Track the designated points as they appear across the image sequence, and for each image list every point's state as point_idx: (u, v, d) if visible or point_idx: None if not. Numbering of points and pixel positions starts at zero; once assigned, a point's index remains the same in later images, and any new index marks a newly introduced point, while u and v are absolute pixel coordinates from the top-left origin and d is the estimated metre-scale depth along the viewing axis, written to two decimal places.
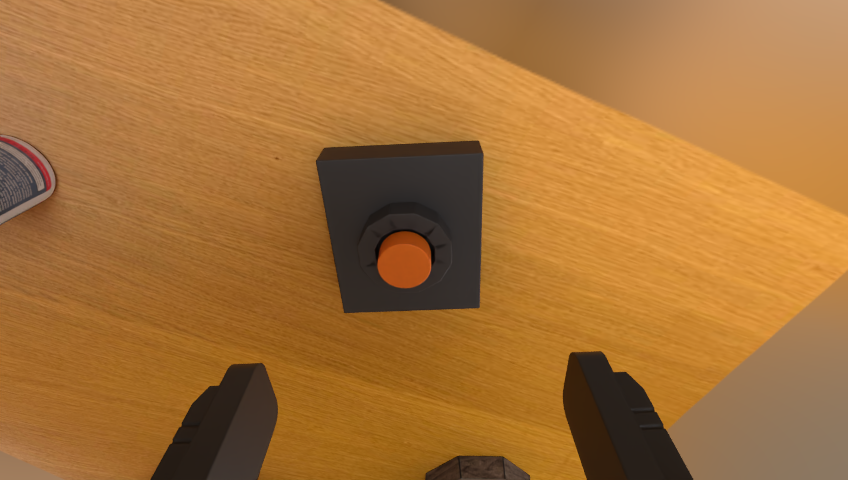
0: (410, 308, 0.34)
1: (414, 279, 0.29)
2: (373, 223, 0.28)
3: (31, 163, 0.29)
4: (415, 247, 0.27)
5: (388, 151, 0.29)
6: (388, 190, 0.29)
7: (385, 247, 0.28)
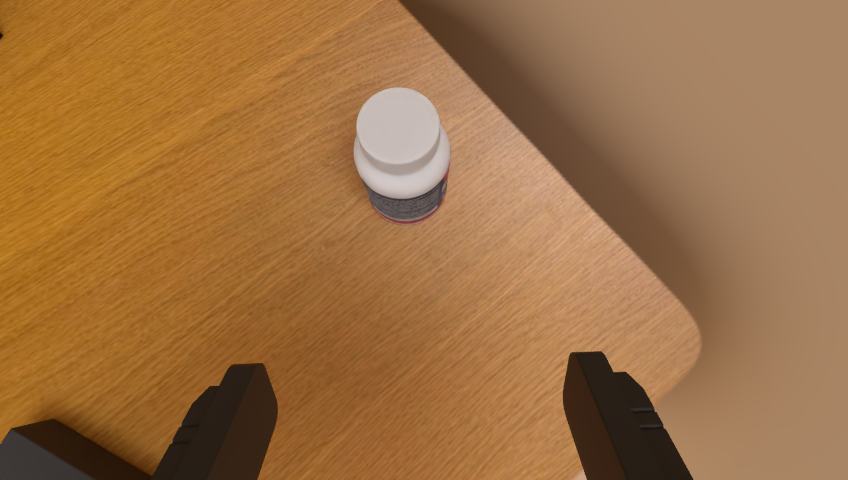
0: None
1: None
2: None
3: (399, 220, 0.26)
4: None
5: None
6: None
7: None
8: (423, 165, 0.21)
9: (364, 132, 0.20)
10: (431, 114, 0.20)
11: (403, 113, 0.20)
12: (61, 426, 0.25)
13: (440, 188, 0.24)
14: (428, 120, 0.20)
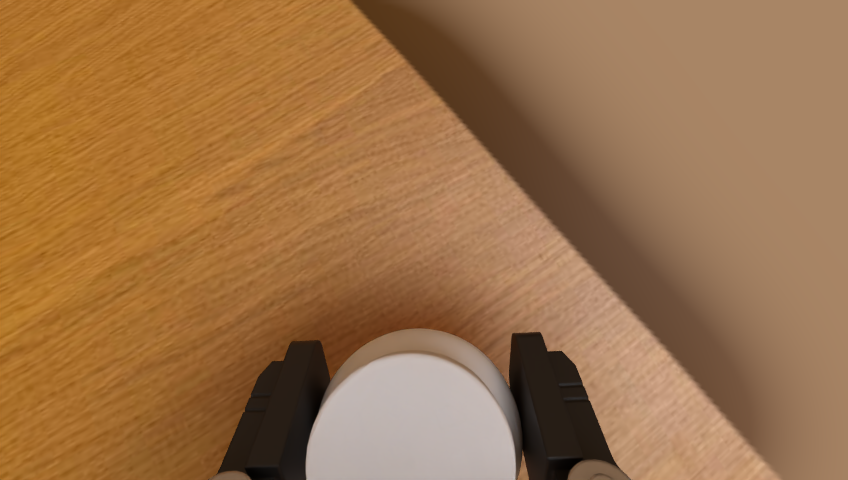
0: None
1: None
2: None
3: None
4: None
5: None
6: None
7: None
8: None
9: None
10: (494, 435, 0.08)
11: (424, 432, 0.08)
12: None
13: None
14: (487, 453, 0.08)
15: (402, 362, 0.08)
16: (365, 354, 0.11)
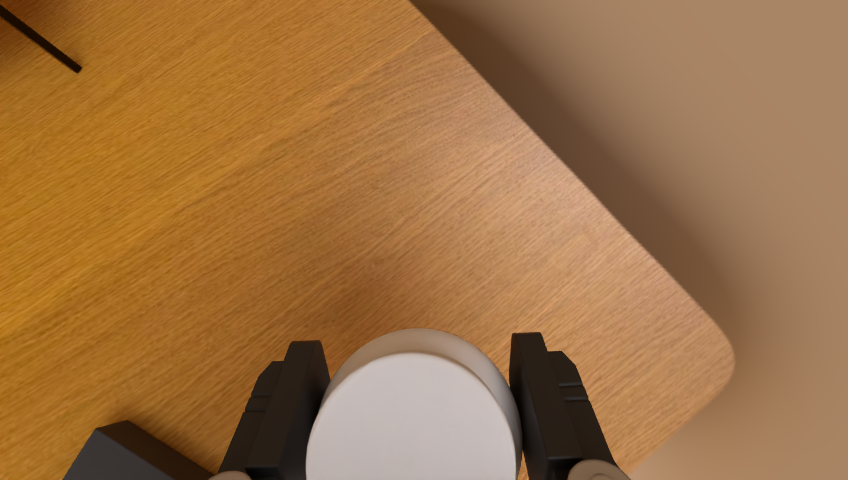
0: None
1: None
2: None
3: None
4: None
5: None
6: None
7: None
8: None
9: None
10: (494, 435, 0.08)
11: (424, 431, 0.08)
12: (135, 427, 0.27)
13: None
14: (487, 453, 0.08)
15: (402, 362, 0.08)
16: (366, 354, 0.11)
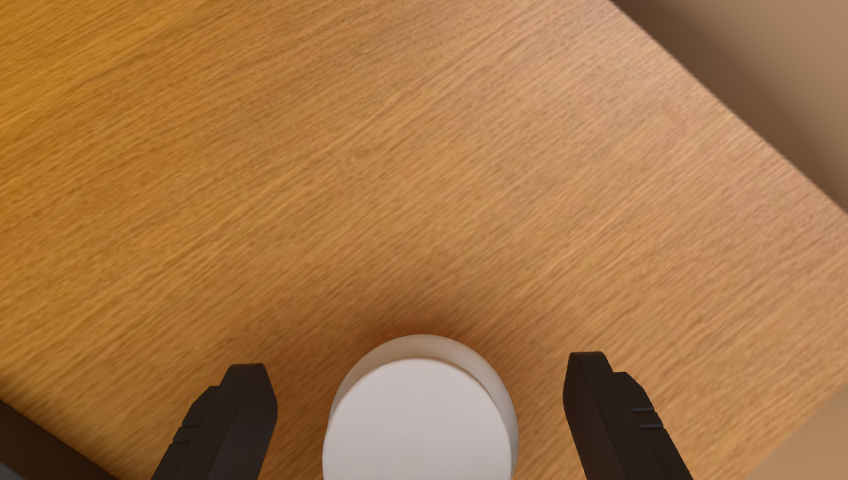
0: None
1: None
2: None
3: None
4: None
5: None
6: None
7: None
8: None
9: (339, 477, 0.09)
10: (492, 433, 0.09)
11: (428, 429, 0.09)
12: None
13: None
14: (485, 449, 0.09)
15: (409, 367, 0.09)
16: (373, 358, 0.11)
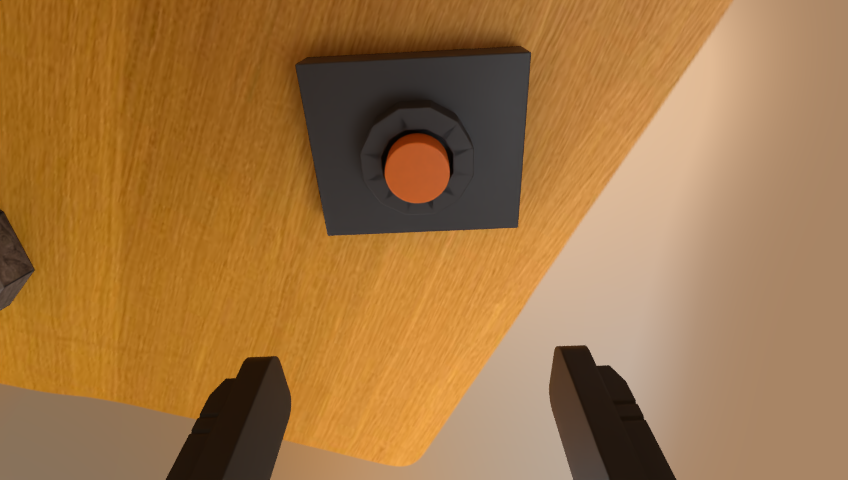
0: (316, 158, 0.26)
1: (399, 185, 0.24)
2: (462, 129, 0.23)
3: None
4: (444, 187, 0.24)
5: None
6: (486, 136, 0.25)
7: (440, 149, 0.23)
8: None
9: None
10: None
11: None
12: (320, 57, 0.25)
13: None
14: None
15: None
16: None
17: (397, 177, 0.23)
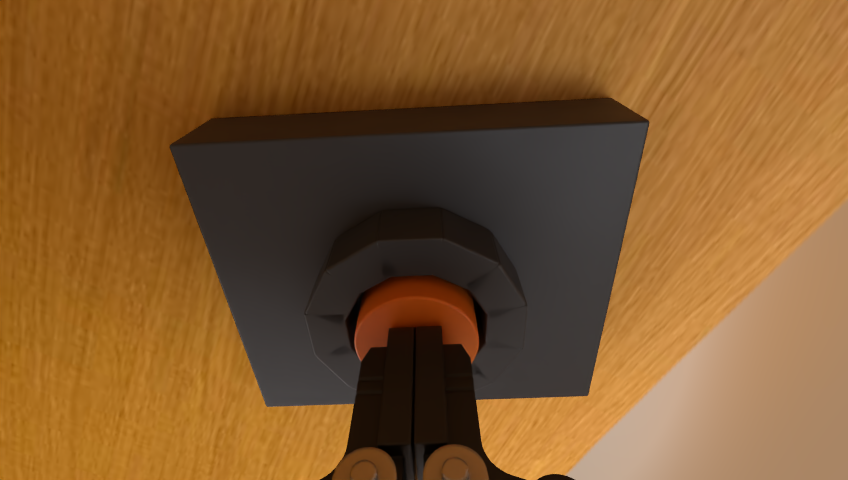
0: (233, 300, 0.14)
1: None
2: (506, 274, 0.12)
3: None
4: None
5: None
6: (545, 266, 0.14)
7: (462, 302, 0.12)
8: None
9: None
10: None
11: None
12: (234, 119, 0.14)
13: None
14: None
15: None
16: None
17: None
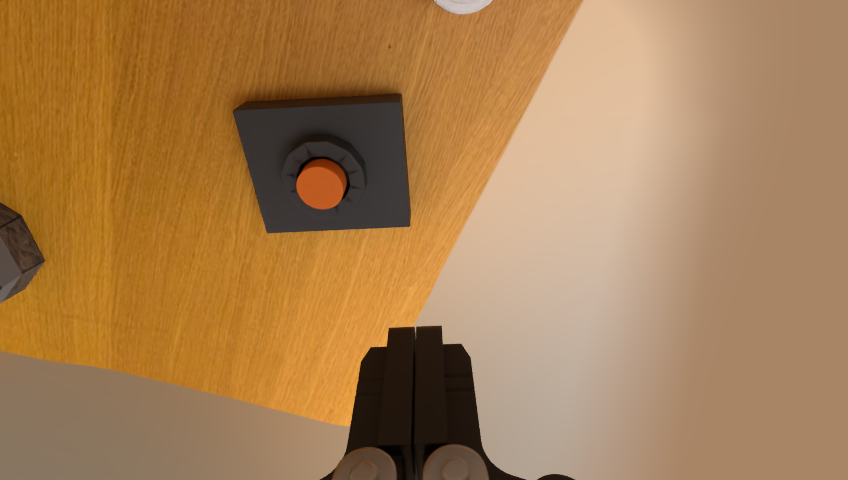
0: (253, 175, 0.35)
1: (307, 196, 0.33)
2: (352, 156, 0.33)
3: None
4: (340, 197, 0.33)
5: (405, 155, 0.36)
6: (376, 160, 0.35)
7: (335, 171, 0.32)
8: None
9: None
10: None
11: None
12: (254, 102, 0.35)
13: None
14: None
15: None
16: None
17: (305, 191, 0.33)
